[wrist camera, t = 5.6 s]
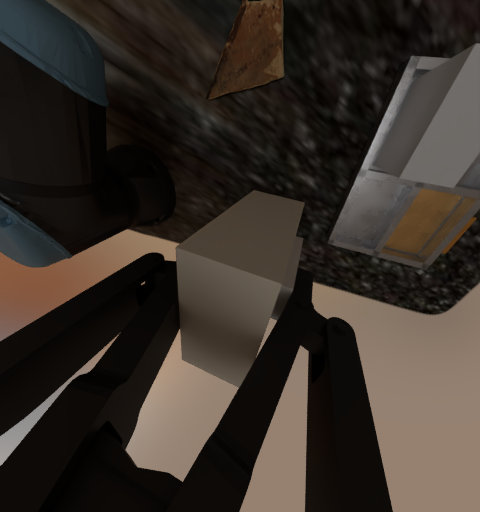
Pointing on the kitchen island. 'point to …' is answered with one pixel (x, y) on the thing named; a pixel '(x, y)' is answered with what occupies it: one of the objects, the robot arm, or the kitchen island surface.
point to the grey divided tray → (403, 196)
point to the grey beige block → (234, 282)
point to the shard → (251, 49)
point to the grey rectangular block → (437, 124)
